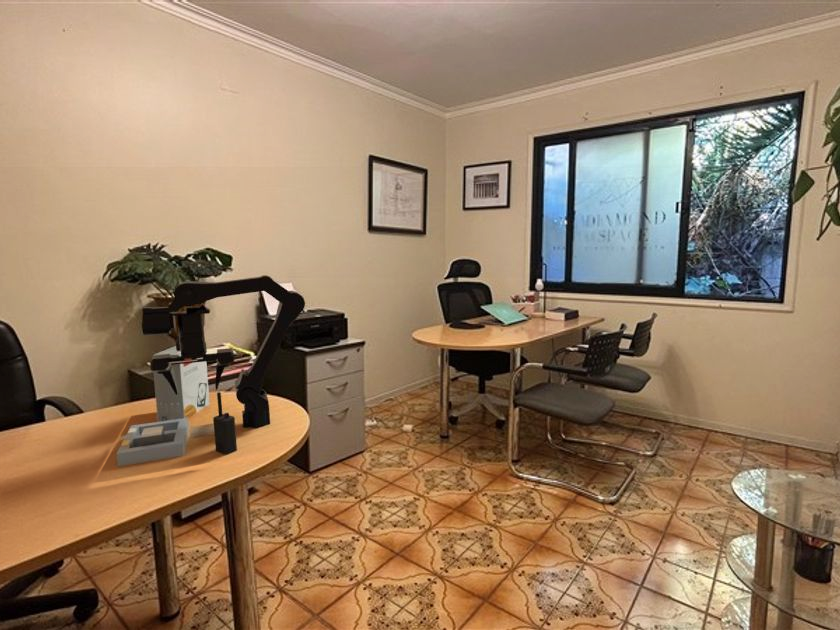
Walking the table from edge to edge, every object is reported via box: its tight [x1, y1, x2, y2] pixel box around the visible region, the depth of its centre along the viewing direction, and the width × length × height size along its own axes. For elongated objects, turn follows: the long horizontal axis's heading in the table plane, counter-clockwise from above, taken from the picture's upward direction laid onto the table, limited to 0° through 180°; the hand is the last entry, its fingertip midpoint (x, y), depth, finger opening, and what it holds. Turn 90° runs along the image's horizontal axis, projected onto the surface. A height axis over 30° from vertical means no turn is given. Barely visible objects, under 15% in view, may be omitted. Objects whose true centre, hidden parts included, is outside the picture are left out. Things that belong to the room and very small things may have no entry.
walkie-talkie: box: [212, 391, 238, 455], centre depth 108 cm, size 5×3×15 cm
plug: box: [141, 426, 165, 446], centre depth 108 cm, size 4×4×5 cm
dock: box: [116, 418, 190, 467], centre depth 112 cm, size 13×17×4 cm
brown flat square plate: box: [189, 423, 215, 439], centre depth 121 cm, size 7×8×1 cm
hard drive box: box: [151, 345, 211, 422], centre depth 132 cm, size 16×8×20 cm, turn 179°
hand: (197, 391), depth 118 cm, fingers open, 9 cm apart
